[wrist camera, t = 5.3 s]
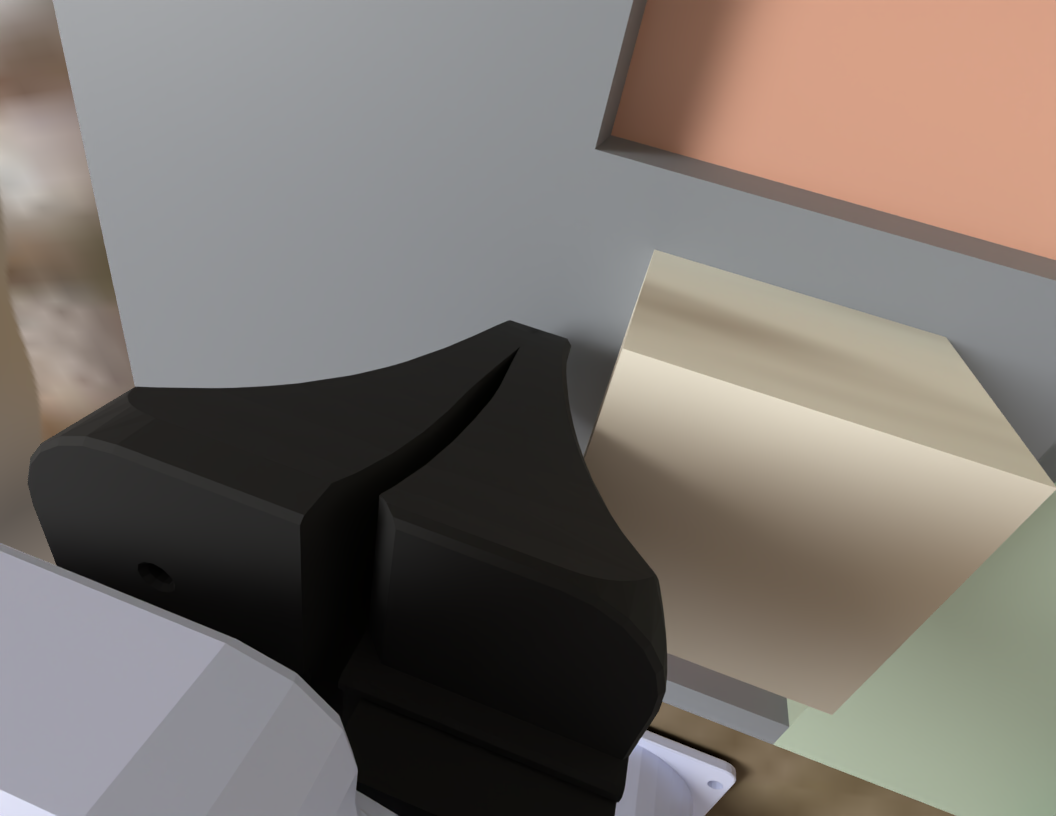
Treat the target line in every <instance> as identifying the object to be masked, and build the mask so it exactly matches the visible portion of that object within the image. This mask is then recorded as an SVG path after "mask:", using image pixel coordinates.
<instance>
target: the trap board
mask: <svg viewBox="0 0 1056 816" xmlns="http://www.w3.org/2000/svg"><path fill="white" fill-rule="evenodd" d="M53 4H54V8H55V13H56V18H57V22H58V27H59V32H60V37H61V41H62V46H63V51H64V55H65V60H66V65H67V69H68V74H69V79H70V83H71V88H72V93H73V98H74V102H75V107H76V112H77V116H78V121H79V126H80V130H81V135H82V140H83V144H84V149H85V154H86V158H87V163H88V168H89V173H90V177H91V182H92V187H93V191H94V196H95V201H96V205H97V210H98V215H99V219H100V224H101V229H102V234H103V238H104V243H105V248H106V252H107V257H108V262H109V266H110V271H111V276H112V280H113V285H114V290H115V295H116V299H117V304H118V309H119V313H120V318H121V323H122V327H123V332H124V337H125V341H126V346H127V351H128V356H129V360H130V365H131V370H132V374H133V379H134V384H135V387H136V386H137V387H170V388H238V387H258V386H273V385H285V384H295V383H303V382H310V381H317V380H323V379H330V378H337V377H343V376H350V375H355V374H359V373H364V372H368V371H372V370H377V369H381V368H385V367H389V366H392V365H396V364H399V363H403V362H406V361H409V360H412V359H415V358H417V357H420V356H423V355H426V354H429V353H432V352H434V351H437V350H440V349H443V348H446V347H448V346H451V345H453V344H455V343H458V342H460V341H462V340H465V339H467V338H469V337H472V336H474V335H476V334H479V333H481V332H483V331H485V330H487V329H490V328H492V327H494V326H496V325H499V324H501V323H503V322H506V321H508V320H511V321H514V322H518V323H521V324H524V325H527V326H530V327H533V328H536V329H539V330H542V331H545V332H548V333H552V334H555V335H558V336H561V337H564V338H567V339H568V341H569V343H570V344H571V349H570V353H569V356H568V360H567V370H566V375H567V388H568V398H569V404H570V410H571V415H572V420H573V425H574V428H575V432H576V436H577V439H578V443H579V446H580V449H581V452H582V454H583V456H584V453H585V450H586V447H587V444H588V441H589V438H590V436H591V433H592V430H593V427H594V424H595V421H596V418H597V415H598V412H599V409H600V406H601V404H602V401H603V398H604V395H605V392H606V389H607V386H608V383H609V380H610V377H611V374H612V371H613V369H614V366H615V363H616V360H617V357H618V354H619V351H620V348H621V345H622V342H623V339H624V337H625V334H626V331H627V328H628V325H629V322H630V319H631V316H632V313H633V310H634V307H635V305H636V302H637V299H638V296H639V293H640V290H641V287H642V284H643V281H644V278H645V275H646V272H647V270H648V267H649V264H650V261H651V258H652V255H653V252H654V249H655V250H658V251H661V252H665V253H668V254H671V255H675V256H678V257H681V258H684V259H688V260H691V261H694V262H698V263H701V264H704V265H708V266H711V267H714V268H718V269H721V270H724V271H728V272H731V273H734V274H738V275H741V276H744V277H748V278H751V279H754V280H758V281H761V282H764V283H768V284H771V285H774V286H778V287H781V288H784V289H788V290H791V291H794V292H797V293H801V294H804V295H807V296H811V297H814V298H817V299H821V300H824V301H827V302H831V303H834V304H837V305H841V306H844V307H847V308H851V309H854V310H857V311H861V312H864V313H867V314H871V315H874V316H877V317H881V318H884V319H887V320H891V321H894V322H897V323H900V324H904V325H907V326H910V327H914V328H917V329H920V330H924V331H927V332H930V333H934V334H937V335H940V336H944V337H946V338H947V339H948V340H949V342H950V343H951V345H952V346H953V347H954V349H955V350H956V351H957V353H958V354H959V355H960V357H961V358H962V359H963V361H964V362H965V364H966V365H967V366H968V368H969V369H970V370H971V372H972V373H973V374H974V376H975V377H976V379H977V380H978V381H979V383H980V384H981V385H982V387H983V388H984V389H985V391H986V392H987V393H988V395H989V396H990V398H991V399H992V400H993V402H994V403H995V404H996V406H997V407H998V408H999V410H1000V411H1001V413H1002V414H1003V415H1004V417H1005V418H1006V419H1007V421H1008V422H1009V423H1010V425H1011V426H1012V427H1013V429H1014V430H1015V432H1016V433H1017V434H1018V436H1019V437H1020V438H1021V440H1022V441H1023V442H1024V444H1025V445H1026V447H1027V448H1028V449H1029V451H1030V452H1031V453H1032V455H1033V456H1034V457H1035V459H1036V460H1037V461H1038V463H1039V464H1040V466H1041V467H1042V468H1043V470H1044V471H1045V472H1046V474H1047V475H1048V476H1049V478H1050V479H1051V480H1052V482H1053V483H1054V485H1055V486H1056V0H53ZM662 702H665V703H667V704H670V705H672V706H675V707H678V708H680V709H683V710H685V711H688V712H690V713H693V714H696V715H698V716H701V717H703V718H706V719H708V720H711V721H714V722H716V723H719V724H721V725H724V726H727V727H729V728H732V729H734V730H737V731H739V732H742V733H745V734H747V735H750V736H752V737H755V738H758V739H760V740H763V741H765V742H768V743H770V744H773V745H776V746H778V747H781V748H783V749H786V750H789V751H791V752H794V753H796V754H799V755H801V756H804V757H807V758H809V759H812V760H814V761H817V762H820V763H822V764H825V765H827V766H830V767H832V768H835V769H838V770H840V771H843V772H845V773H848V774H850V775H853V776H856V777H858V778H861V779H863V780H866V781H869V782H871V783H874V784H876V785H879V786H881V787H884V788H887V789H889V790H892V791H894V792H897V793H900V794H902V795H905V796H907V797H910V798H912V799H915V800H918V801H920V802H923V803H925V804H928V805H931V806H933V807H936V808H938V809H941V810H943V811H946V812H949V813H951V814H954V815H956V816H1056V490H1055V491H1054V492H1053V493H1052V494H1051V495H1050V496H1049V497H1048V498H1047V499H1046V500H1045V501H1044V502H1043V503H1042V504H1041V505H1040V506H1039V507H1038V508H1037V509H1036V510H1035V511H1034V512H1033V513H1032V514H1031V515H1030V516H1029V517H1028V518H1027V519H1026V520H1025V521H1024V522H1023V523H1022V524H1021V525H1020V526H1019V527H1018V528H1017V529H1016V530H1015V531H1014V532H1013V533H1012V534H1011V535H1010V536H1009V537H1008V538H1007V539H1006V540H1005V541H1004V542H1003V543H1002V544H1001V545H1000V547H999V548H998V549H997V550H996V551H995V552H994V553H993V554H992V555H991V556H990V557H989V558H988V559H987V560H986V561H985V562H984V563H983V564H982V565H981V566H980V567H979V568H978V569H977V570H976V571H975V572H974V573H973V574H972V575H971V576H970V577H969V578H968V579H967V580H966V581H965V582H964V583H963V584H962V585H961V586H960V587H959V588H958V589H957V590H956V591H955V592H954V593H953V594H952V595H951V596H950V597H949V598H948V599H947V600H946V601H945V602H944V603H943V604H942V605H941V606H940V607H939V608H938V609H937V610H936V611H935V612H934V613H933V614H932V615H931V616H930V617H929V618H928V619H927V620H926V621H925V622H924V623H923V624H922V625H921V626H920V627H919V628H918V629H917V630H916V631H915V632H914V633H913V634H912V635H911V636H910V637H909V638H908V639H907V640H906V641H905V642H904V643H903V644H902V645H901V646H900V647H899V648H898V649H897V650H896V651H895V652H894V653H893V654H892V655H891V656H890V657H889V658H888V659H887V660H886V661H885V662H884V663H883V664H882V665H881V666H880V667H879V668H878V669H877V670H876V671H875V672H874V673H873V674H872V675H871V676H870V677H869V678H868V679H867V680H866V681H865V682H864V683H863V684H862V685H861V686H860V687H859V688H858V689H857V690H856V691H855V692H854V693H853V694H852V695H851V696H850V698H849V699H848V700H847V701H846V702H845V703H844V704H843V705H842V706H841V707H840V708H839V709H838V710H837V711H836V712H835V713H834V714H833V715H830V714H828V713H825V712H822V711H820V710H817V709H815V708H812V707H809V706H807V705H804V704H801V703H799V702H796V701H793V700H791V699H788V698H785V697H783V696H780V695H777V694H775V693H772V692H769V691H767V690H764V689H761V688H759V687H756V686H754V685H751V684H748V683H746V682H743V681H740V680H738V679H735V678H732V677H730V676H727V675H724V674H722V673H719V672H716V671H714V670H711V669H708V668H706V667H703V666H700V665H698V664H695V663H693V662H690V661H687V660H685V659H682V658H679V657H677V656H674V655H671V654H669V653H667V683H666V692H665V695H664V698H663V701H662Z"/></svg>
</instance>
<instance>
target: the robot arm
mask: <svg viewBox="0 0 1056 816" xmlns="http://www.w3.org/2000/svg"><path fill="white" fill-rule="evenodd" d="M570 349H571V344H570V343H569V341H568V339H567V338H564V337H561V336H558V335H555V334H552V333H548V332H545V331H542V330H539V329H536V328H533V327H530V326H527V325H524V324H521V323H518V322H514V321H511V320H508V321H506V322H503V323H501V324H499V325H496V326H494V327H492V328H490V329H487V330H485V331H483V332H481V333H479V334H476V335H474V336H472V337H469V338H467V339H465V340H462V341H460V342H458V343H455V344H453V345H451V346H448V347H446V348H443V349H440V350H437V351H434V352H432V353H429V354H426V355H423V356H420V357H417V358H415V359H412V360H409V361H406V362H403V363H399V364H396V365H392V366H389V367H385V368H381V369H377V370H372V371H368V372H364V373H359V374H355V375H350V376H343V377H337V378H330V379H323V380H317V381H310V382H303V383H295V384H285V385H273V386H258V387H238V388H170V387H137V386H136V387H134V388H133V389H131V390H129V391H128V392H126V393H124V394H123V395H121V396H119V397H118V398H116V399H114V400H113V401H111V402H109V403H108V404H106V405H104V406H103V407H101V408H99V409H98V410H96V411H94V412H93V413H91V414H89V415H88V416H86V417H84V418H83V419H81V420H79V421H78V422H76V423H74V424H73V425H71V426H69V427H68V428H66V429H64V430H63V431H61V432H59V433H58V434H56V435H54V436H53V437H51V438H49V439H48V440H46V441H44V442H43V443H41V444H40V446H39V447H38V448H37V450H36V451H35V452H34V454H33V455H32V456H31V458H30V466H29V475H28V485H29V490H30V494H31V498H32V502H33V506H34V508H35V510H36V513H37V516H38V518H39V521H40V524H41V526H42V528H43V531H44V534H45V536H46V539H47V542H48V544H49V547H50V549H51V552H52V554H53V557H54V559H55V562H56V565H57V566H56V565H54V564H51V563H48V562H46V561H44V560H41V559H39V558H36V557H34V556H31V555H29V554H27V553H24V552H22V551H19V550H17V549H14V548H12V547H9V546H7V545H4V544H2V543H0V816H705V815H706V814H707V813H708V811H709V810H710V809H711V808H712V807H713V806H714V805H715V804H716V803H717V802H718V801H719V800H720V799H721V797H722V796H723V795H724V794H725V793H726V792H727V791H728V790H729V789H730V788H731V787H732V786H733V784H734V783H735V782H736V770H735V768H734V767H733V766H732V765H731V764H730V763H728V762H726V761H724V760H721V759H719V758H716V757H714V756H711V755H709V754H706V753H704V752H701V751H699V750H696V749H693V748H691V747H688V746H686V745H683V744H681V743H678V742H676V741H673V740H671V739H668V738H666V737H663V736H660V735H658V734H655V733H653V732H650V731H648V730H647V728H648V727H649V725H650V724H651V722H652V721H653V719H654V718H655V716H656V714H657V713H658V711H659V709H660V706H661V703H662V701H663V698H664V695H665V692H666V683H667V640H666V628H665V618H664V610H663V603H662V596H661V590H660V584H659V579H658V577H657V575H656V574H655V573H654V571H653V570H652V569H651V568H650V566H649V565H648V564H647V563H646V561H645V560H644V559H643V557H642V556H641V555H640V554H639V552H638V551H637V550H636V549H635V547H634V546H633V545H632V544H631V542H630V541H629V540H628V539H627V537H626V536H625V535H624V533H623V532H622V531H621V529H620V528H619V526H618V525H617V523H616V522H615V520H614V518H613V517H612V515H611V514H610V512H609V510H608V508H607V506H606V504H605V502H604V501H603V499H602V497H601V495H600V493H599V491H598V489H597V487H596V485H595V483H594V481H593V479H592V477H591V475H590V472H589V470H588V467H587V465H586V462H585V460H584V457H583V454H582V452H581V449H580V446H579V443H578V439H577V436H576V432H575V428H574V425H573V420H572V415H571V410H570V404H569V398H568V388H567V375H566V370H567V360H568V356H569V353H570Z"/></svg>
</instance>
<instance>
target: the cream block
mask: <svg viewBox="0 0 1056 816" xmlns="http://www.w3.org/2000/svg"><path fill="white" fill-rule="evenodd" d="M583 457H584V460H585V462H586V465H587V467H588V470H589V472H590V475H591V477H592V479H593V481H594V483H595V485H596V487H597V489H598V491H599V493H600V495H601V497H602V499H603V501H604V502H605V504H606V506H607V508H608V510H609V512H610V514H611V515H612V517H613V518H614V520H615V522H616V523H617V525H618V526H619V528H620V529H621V531H622V532H623V533H624V535H625V536H626V537H627V539H628V540H629V541H630V542H631V544H632V545H633V546H634V547H635V549H636V550H637V551H638V552H639V554H640V555H641V556H642V557H643V559H644V560H645V561H646V563H647V564H648V565H649V566H650V568H651V569H652V570H653V571H654V573H655V574H656V575H657V577H658V579H659V584H660V590H661V596H662V603H663V610H664V618H665V628H666V640H667V653H669V654H671V655H674V656H677V657H679V658H682V659H685V660H687V661H690V662H693V663H695V664H698V665H700V666H703V667H706V668H708V669H711V670H714V671H716V672H719V673H722V674H724V675H727V676H730V677H732V678H735V679H738V680H740V681H743V682H746V683H748V684H751V685H754V686H756V687H759V688H761V689H764V690H767V691H769V692H772V693H775V694H777V695H780V696H783V697H785V698H788V699H791V700H793V701H796V702H799V703H801V704H804V705H807V706H809V707H812V708H815V709H817V710H820V711H822V712H825V713H828V714H830V715H833V714H834V713H835V712H836V711H837V710H838V709H839V708H840V707H841V706H842V705H843V704H844V703H845V702H846V701H847V700H848V699H849V698H850V696H851V695H852V694H853V693H854V692H855V691H856V690H857V689H858V688H859V687H860V686H861V685H862V684H863V683H864V682H865V681H866V680H867V679H868V678H869V677H870V676H871V675H872V674H873V673H874V672H875V671H876V670H877V669H878V668H879V667H880V666H881V665H882V664H883V663H884V662H885V661H886V660H887V659H888V658H889V657H890V656H891V655H892V654H893V653H894V652H895V651H896V650H897V649H898V648H899V647H900V646H901V645H902V644H903V643H904V642H905V641H906V640H907V639H908V638H909V637H910V636H911V635H912V634H913V633H914V632H915V631H916V630H917V629H918V628H919V627H920V626H921V625H922V624H923V623H924V622H925V621H926V620H927V619H928V618H929V617H930V616H931V615H932V614H933V613H934V612H935V611H936V610H937V609H938V608H939V607H940V606H941V605H942V604H943V603H944V602H945V601H946V600H947V599H948V598H949V597H950V596H951V595H952V594H953V593H954V592H955V591H956V590H957V589H958V588H959V587H960V586H961V585H962V584H963V583H964V582H965V581H966V580H967V579H968V578H969V577H970V576H971V575H972V574H973V573H974V572H975V571H976V570H977V569H978V568H979V567H980V566H981V565H982V564H983V563H984V562H985V561H986V560H987V559H988V558H989V557H990V556H991V555H992V554H993V553H994V552H995V551H996V550H997V549H998V548H999V547H1000V545H1001V544H1002V543H1003V542H1004V541H1005V540H1006V539H1007V538H1008V537H1009V536H1010V535H1011V534H1012V533H1013V532H1014V531H1015V530H1016V529H1017V528H1018V527H1019V526H1020V525H1021V524H1022V523H1023V522H1024V521H1025V520H1026V519H1027V518H1028V517H1029V516H1030V515H1031V514H1032V513H1033V512H1034V511H1035V510H1036V509H1037V508H1038V507H1039V506H1040V505H1041V504H1042V503H1043V502H1044V501H1045V500H1046V499H1047V498H1048V497H1049V496H1050V495H1051V494H1052V493H1053V492H1054V491H1055V490H1056V486H1055V485H1054V483H1053V482H1052V480H1051V479H1050V478H1049V476H1048V475H1047V474H1046V472H1045V471H1044V470H1043V468H1042V467H1041V466H1040V464H1039V463H1038V461H1037V460H1036V459H1035V457H1034V456H1033V455H1032V453H1031V452H1030V451H1029V449H1028V448H1027V447H1026V445H1025V444H1024V442H1023V441H1022V440H1021V438H1020V437H1019V436H1018V434H1017V433H1016V432H1015V430H1014V429H1013V427H1012V426H1011V425H1010V423H1009V422H1008V421H1007V419H1006V418H1005V417H1004V415H1003V414H1002V413H1001V411H1000V410H999V408H998V407H997V406H996V404H995V403H994V402H993V400H992V399H991V398H990V396H989V395H988V393H987V392H986V391H985V389H984V388H983V387H982V385H981V384H980V383H979V381H978V380H977V379H976V377H975V376H974V374H973V373H972V372H971V370H970V369H969V368H968V366H967V365H966V364H965V362H964V361H963V359H962V358H961V357H960V355H959V354H958V353H957V351H956V350H955V349H954V347H953V346H952V345H951V343H950V342H949V340H948V339H947V338H946V337H944V336H940V335H937V334H934V333H930V332H927V331H924V330H920V329H917V328H914V327H910V326H907V325H904V324H900V323H897V322H894V321H891V320H887V319H884V318H881V317H877V316H874V315H871V314H867V313H864V312H861V311H857V310H854V309H851V308H847V307H844V306H841V305H837V304H834V303H831V302H827V301H824V300H821V299H817V298H814V297H811V296H807V295H804V294H801V293H797V292H794V291H791V290H788V289H784V288H781V287H778V286H774V285H771V284H768V283H764V282H761V281H758V280H754V279H751V278H748V277H744V276H741V275H738V274H734V273H731V272H728V271H724V270H721V269H718V268H714V267H711V266H708V265H704V264H701V263H698V262H694V261H691V260H688V259H684V258H681V257H678V256H675V255H671V254H668V253H665V252H661V251H658V250H655V249H654V252H653V255H652V258H651V261H650V264H649V267H648V270H647V272H646V275H645V278H644V281H643V284H642V287H641V290H640V293H639V296H638V299H637V302H636V305H635V307H634V310H633V313H632V316H631V319H630V322H629V325H628V328H627V331H626V334H625V337H624V339H623V342H622V345H621V348H620V351H619V354H618V357H617V360H616V363H615V366H614V369H613V371H612V374H611V377H610V380H609V383H608V386H607V389H606V392H605V395H604V398H603V401H602V404H601V406H600V409H599V412H598V415H597V418H596V421H595V424H594V427H593V430H592V433H591V436H590V438H589V441H588V444H587V447H586V450H585V453H584V456H583Z"/></svg>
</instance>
